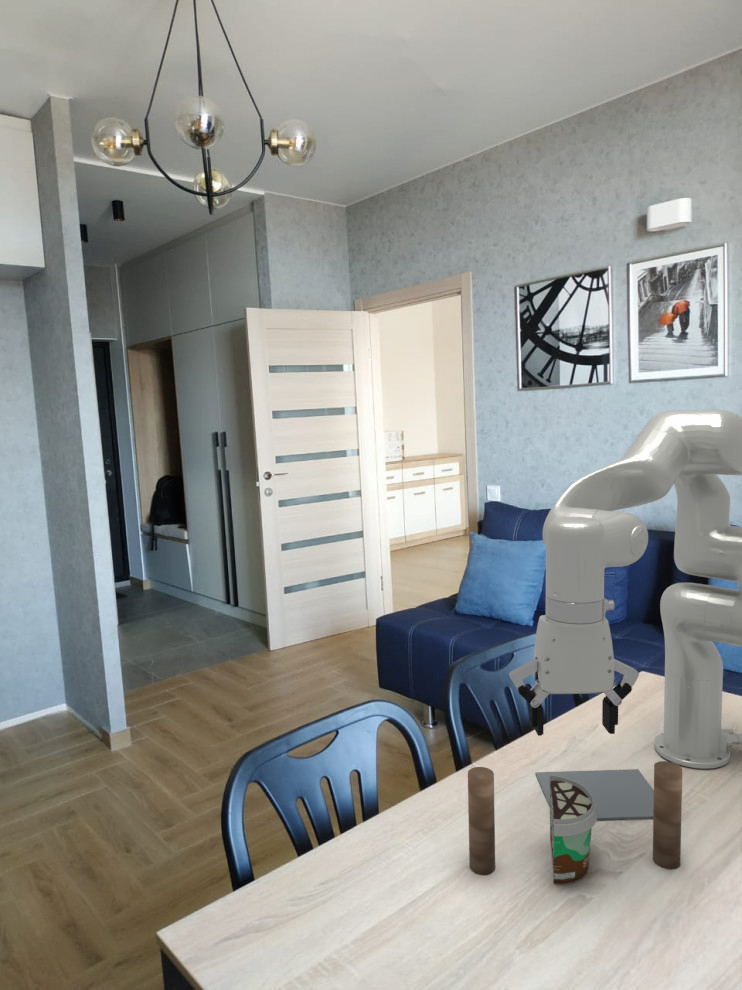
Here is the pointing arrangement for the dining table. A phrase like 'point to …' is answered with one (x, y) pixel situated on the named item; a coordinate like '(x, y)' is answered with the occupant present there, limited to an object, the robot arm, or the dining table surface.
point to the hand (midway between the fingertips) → (573, 730)
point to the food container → (570, 829)
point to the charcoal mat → (610, 792)
